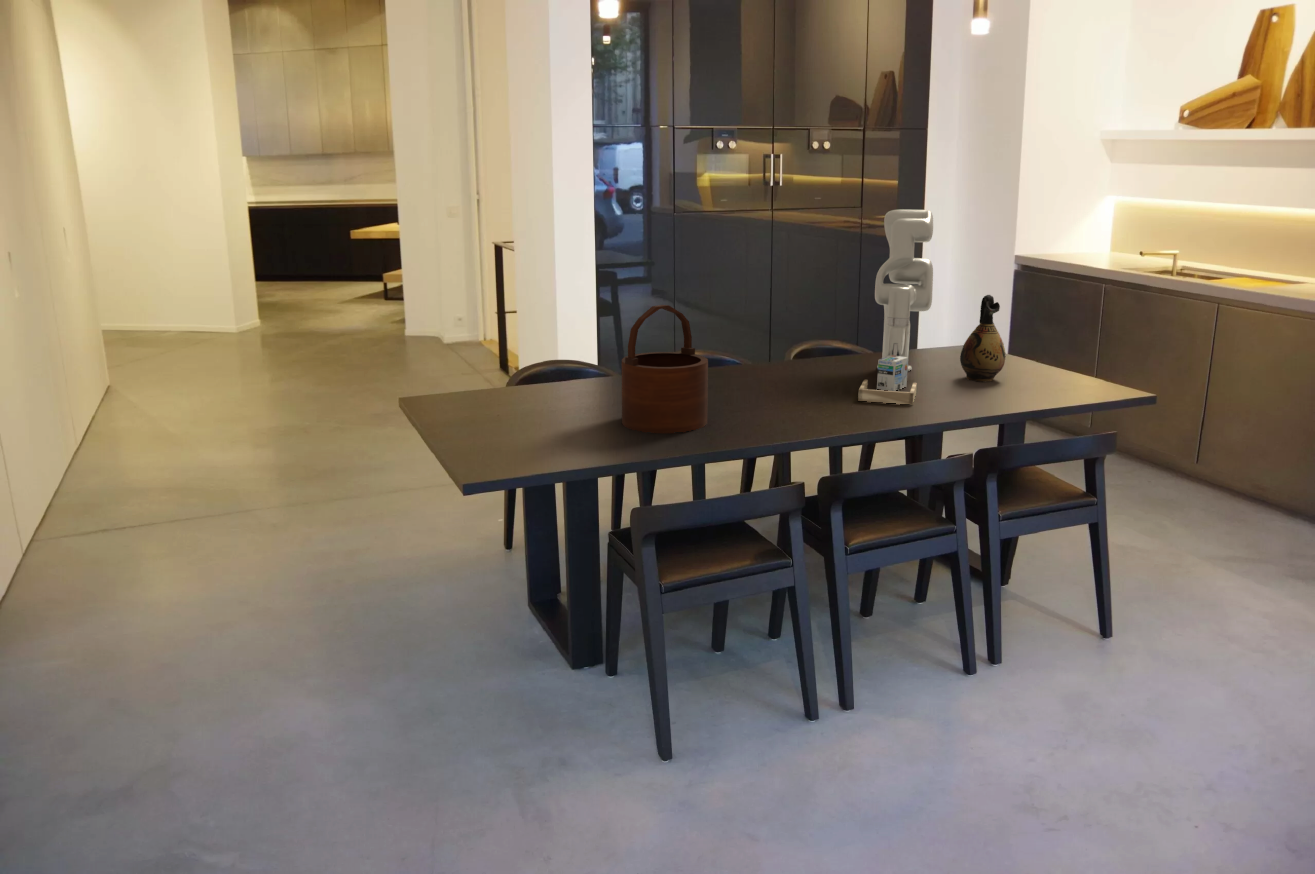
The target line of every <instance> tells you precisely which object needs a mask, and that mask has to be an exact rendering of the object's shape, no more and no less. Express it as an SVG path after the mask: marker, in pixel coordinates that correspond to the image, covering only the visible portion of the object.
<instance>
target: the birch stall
mask: <svg viewBox="0 0 1315 874" xmlns="http://www.w3.org/2000/svg"><path fill="white" fill-rule="evenodd" d="M868 385H869V380H868V379H864V380H863V381H862V383H861V385H860V387H858V388H859V389H858V392H857V393H858V395H857V396H858V397H857V399H858V400H857V401H867V402H866V403H871V402H883V403H882V404H886V403H896V404H895V405H900V404H911V405H910V406H914V403H913V402H914V401H915V400H916V397H915V396H917V388H918V387H917V386H918V383H917V382H912V386H911V388H910V391H900V390H898V391H884V390H877V389H868ZM914 399H915V400H914Z"/></svg>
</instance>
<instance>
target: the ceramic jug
mask: <svg viewBox="0 0 1315 874" xmlns="http://www.w3.org/2000/svg"><path fill="white" fill-rule="evenodd" d="M1000 309H1001V306H1000V303H999V302H996V301H995V300H994V296H993V295H991V294H985V296H983V298H982V299H981V303H980V312H979V313H980V315H979V324H977V326H976V327H975V328H974V330H973V331H972V332H971V333H970V334H969V336H968V337H967V338H966V339H965V342H964V343H963V346H962V349H961V352H960V357H959V359H960V360H959V361H960V366H961V368H962V370H963V371H964V373H965V375H966V376H965V377H966V379H967V381H971V382H972V381H973V382H976V383H977V382H978V383H983V382H984V383H985V382H988V383H989V382H993V381H994V379H995V377H996V376H997V375H998V374H999V373H1000V372H1001V371H1002V369H1003V368H1004V366H1005V362H1006V356H1007V355H1006V348H1005V343H1004V341H1003V339H1002V337H1001V335H1000V333H999V331H998V329H997V327H996V326H995V323H994V314H996V313H998V312H999V311H1000Z"/></svg>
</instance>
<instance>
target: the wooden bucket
mask: <svg viewBox="0 0 1315 874" xmlns="http://www.w3.org/2000/svg"><path fill="white" fill-rule="evenodd" d="M659 310H665V311H667V312H669V313H672V314H674V315H675V316H676V318H678V320H679V321H680V322H681V327H682V334H683V346H682V347H680V352H678V351H677V352H676V351H655V352H654V351H652V352H641V353H636V345H637V339H638V335H639V333H638V332H639V329H640V328H641V326H642V325H643V324H644V322H645V321H646V319H648V318H649V317H651V316H653V314H655V313H657V312H658V311H659ZM692 337H693V336H692V331H691V325H690V321H689V320H688V319H687V317H686V316H685V315H684V314H683V313H682V312H681V311H679V310H678V309H675V308H674V307H672V306H671V305H668V304H659V305H653V306H650V308H649V309H647V310H646V311H645V312H644V313H643V314H642V315H640V316H639V317H638V318H637V320H636V321H635V322H634V324H633V325H632V327H631V328H630V333H629V337H628V344H627V355H626V356H624V357H623V358H622V359H621V424H622V425H623V427H625V428H626V429H630V430H632V431H635V430H637V431H636V432H640V431H642V433H647V432H651V433H650V434H675V433H674V432H683V433H687V432H686V431H689V432H692V431H691V430H695V431H697V430H696V429H698V430H700V429H699V428H701V429H703V428H705V427H706V426H707V425H708V408H709V406H708V403H709V402H708V399H709V397H708V396H709V395H708V394H709V393H708V392H709V387H708V386H709V384H708V383H709V379H708V378H709V358H707V357H705V356H703V355H699V354H696V347H693V345H692V343H693V342H692V341H693V340H692V339H693V338H692ZM706 424H707V425H706ZM705 425H706V426H705ZM704 426H705V427H704ZM702 427H703V428H702Z"/></svg>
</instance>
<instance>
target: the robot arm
mask: <svg viewBox="0 0 1315 874" xmlns="http://www.w3.org/2000/svg"><path fill="white" fill-rule="evenodd" d="M883 223H884V232H885V236H886V240H887V242H888V246H889V258H888V259H887V260H886V261H885V262H884V263H883V264H882V265H881V266H880V267H879V270H878V271H877V273H876V276H875V277H876V278H875V283H874V285H875V286H874V287H875V288H874V299H875V302H876V303H877V304H878V305H881V306H883V309H884V310H883V311H884V313H883V314H884V317H883V319H884V320H883V338H882V339H883V340H882V351H881V352H882V354H881V355H882V357H881V359H882V358H884V357H887V356H890V355H895V356H902V357H908V358H909V353H910V351H909V349H910V336H911V321H910V317H911V316H910V315H911V312H927V311H930V309H931V308H932V303H933V284H934V283H933V282H934V267H933V263H932V261H931V260H930V259H929V258H924V257H923V258H922V257H921V258H920V257H915V243H929V242H930V241H931V240H932V237H933V234H934V215H933V212H932V211H930V210H929V209H903V208H902V209H892V210H889V211H887V212H886V214H885V215H884V221H883ZM887 275H888V278H889V280H890V282H892V283H884V279H885V277H886V276H887ZM876 368H877V369H878V365H877V367H876ZM912 369H913V368H912V365H909V364H908V372H910V370H911V371H912Z"/></svg>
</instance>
